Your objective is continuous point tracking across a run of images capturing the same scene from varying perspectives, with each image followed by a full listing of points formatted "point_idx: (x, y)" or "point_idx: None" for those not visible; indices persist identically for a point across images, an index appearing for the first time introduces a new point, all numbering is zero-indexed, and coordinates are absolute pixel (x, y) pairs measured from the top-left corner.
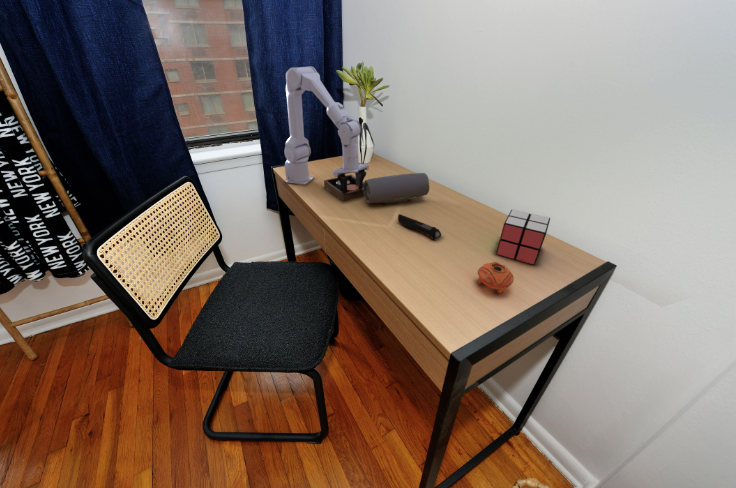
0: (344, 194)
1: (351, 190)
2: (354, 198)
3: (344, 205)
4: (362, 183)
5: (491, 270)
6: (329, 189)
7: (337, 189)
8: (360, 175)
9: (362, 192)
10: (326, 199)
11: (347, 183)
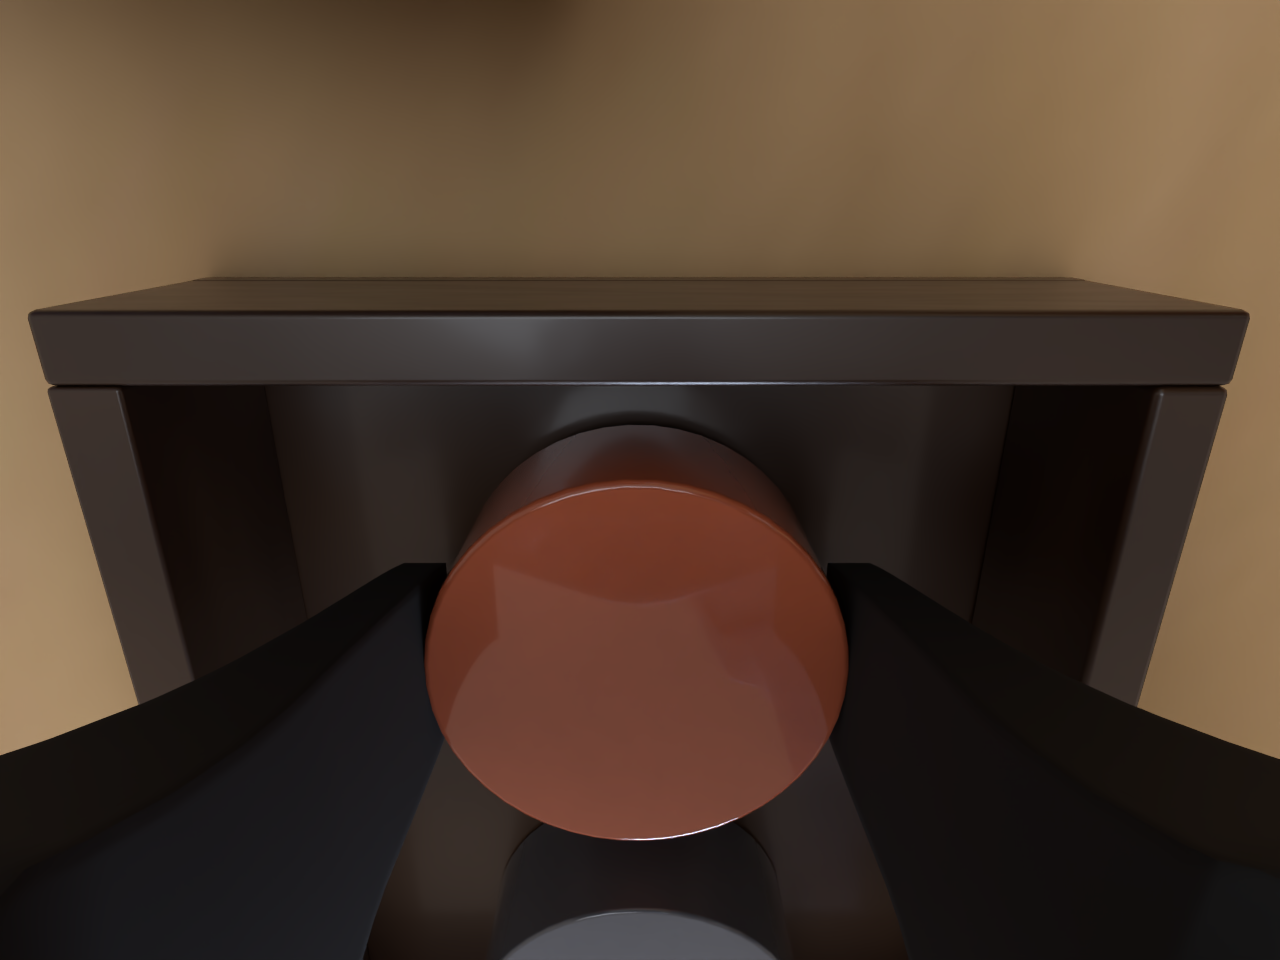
0: (1180, 309)
1: (758, 508)
2: (752, 281)
3: (1156, 113)
4: None
5: None
6: None
7: None
8: (144, 905)
9: (467, 296)
10: (1228, 641)
11: (587, 937)
